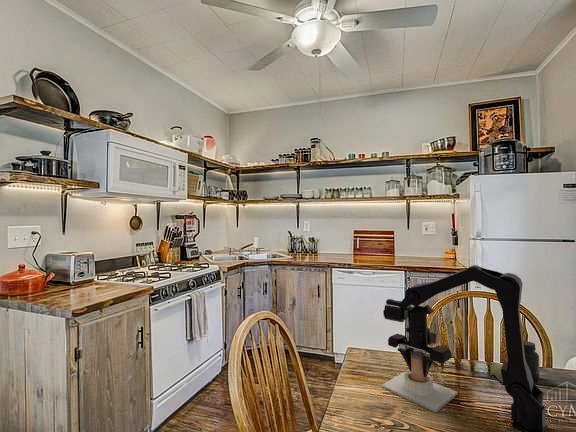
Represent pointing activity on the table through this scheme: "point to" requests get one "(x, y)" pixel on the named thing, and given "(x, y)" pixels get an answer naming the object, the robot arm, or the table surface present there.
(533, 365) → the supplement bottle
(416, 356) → the plug
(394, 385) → the plate with ring collar
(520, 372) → the robot arm
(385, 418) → the table surface
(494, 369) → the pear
